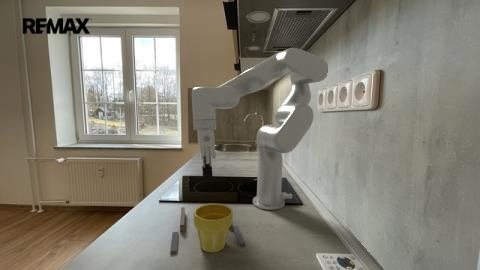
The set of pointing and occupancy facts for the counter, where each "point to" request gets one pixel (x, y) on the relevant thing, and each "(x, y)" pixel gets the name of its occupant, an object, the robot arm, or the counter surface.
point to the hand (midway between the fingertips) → (207, 177)
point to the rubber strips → (175, 239)
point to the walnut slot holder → (182, 220)
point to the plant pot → (213, 225)
